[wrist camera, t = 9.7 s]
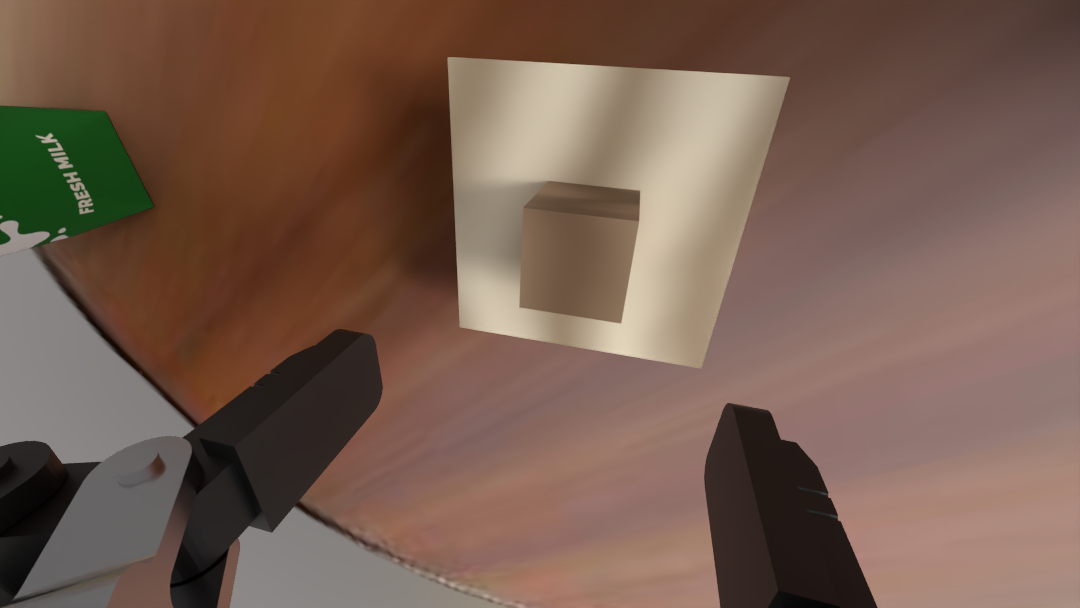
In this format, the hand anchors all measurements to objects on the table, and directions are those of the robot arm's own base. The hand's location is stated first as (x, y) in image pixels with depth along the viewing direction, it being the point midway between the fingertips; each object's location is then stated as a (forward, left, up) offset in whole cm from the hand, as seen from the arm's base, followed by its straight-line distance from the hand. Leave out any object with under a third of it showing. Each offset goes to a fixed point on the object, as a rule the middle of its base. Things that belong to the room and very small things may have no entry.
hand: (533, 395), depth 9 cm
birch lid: (0, 0, -12) cm, 12 cm away
